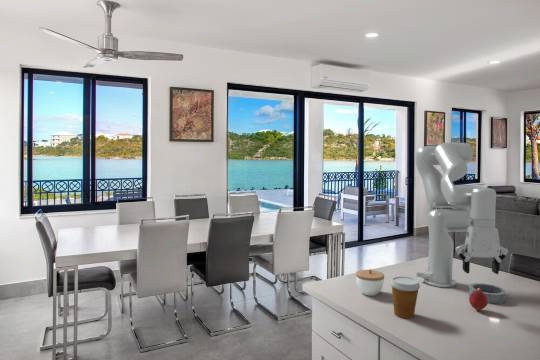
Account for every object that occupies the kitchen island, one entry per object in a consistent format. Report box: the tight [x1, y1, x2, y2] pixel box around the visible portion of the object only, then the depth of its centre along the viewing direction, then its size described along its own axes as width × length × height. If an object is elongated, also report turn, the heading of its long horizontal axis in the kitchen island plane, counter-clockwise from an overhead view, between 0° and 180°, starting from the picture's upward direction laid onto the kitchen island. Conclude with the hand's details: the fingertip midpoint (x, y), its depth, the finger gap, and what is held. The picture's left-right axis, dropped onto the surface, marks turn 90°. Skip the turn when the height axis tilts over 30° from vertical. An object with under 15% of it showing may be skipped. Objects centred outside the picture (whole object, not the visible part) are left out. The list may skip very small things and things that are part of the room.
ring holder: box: [468, 282, 507, 305], centre depth 151 cm, size 12×12×4 cm
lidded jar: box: [355, 268, 385, 297], centre depth 155 cm, size 11×11×9 cm
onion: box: [468, 288, 489, 311], centre depth 138 cm, size 6×6×8 cm
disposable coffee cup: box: [389, 275, 421, 319], centre depth 134 cm, size 10×10×12 cm
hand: (480, 272), depth 137 cm, fingers open, 9 cm apart
